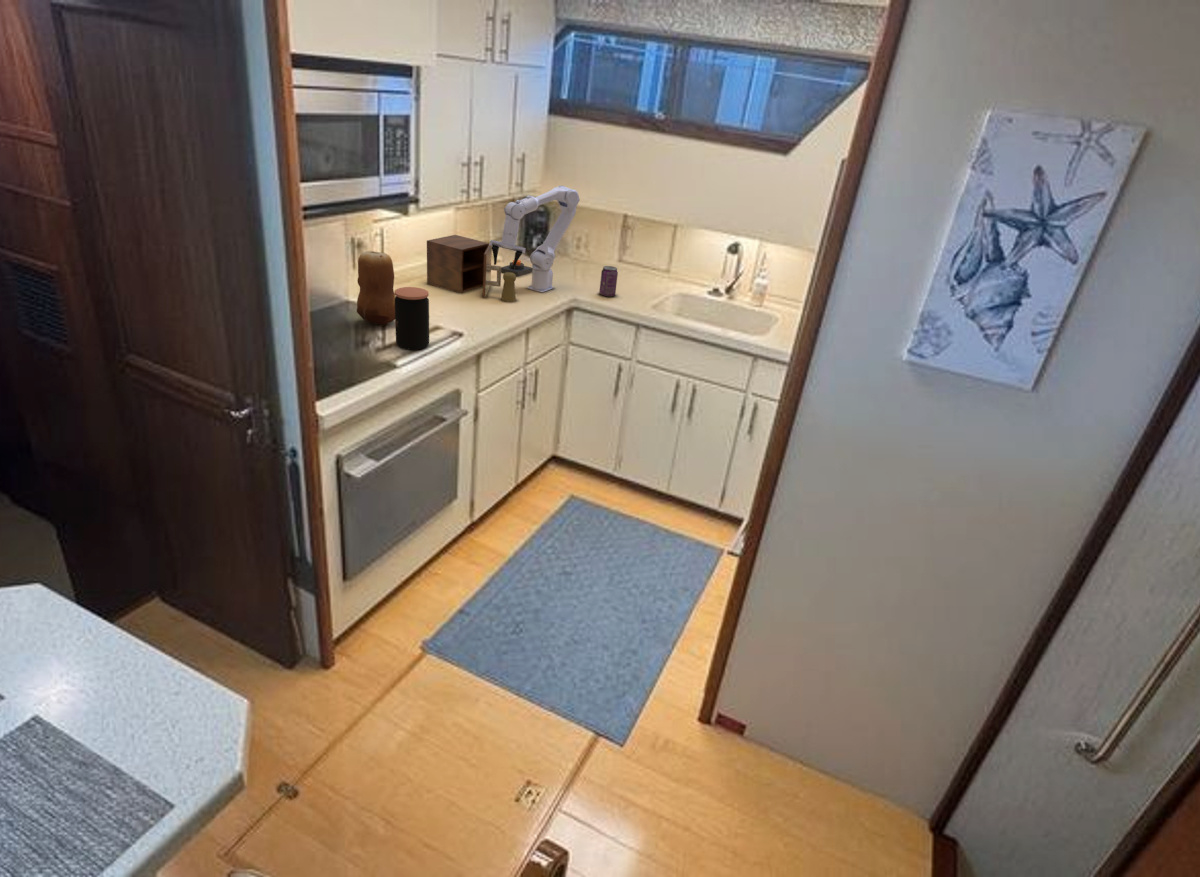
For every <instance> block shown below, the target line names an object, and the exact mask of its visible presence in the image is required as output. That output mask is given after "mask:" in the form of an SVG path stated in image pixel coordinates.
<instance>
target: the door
mask: <svg viewBox="0 0 1200 877" xmlns="http://www.w3.org/2000/svg"><path fill="white" fill-rule="evenodd" d="M492 255H493V251H492V246H491V245H490V243H489V246H488V248H487V250H486V251H485V253H484V272H483V287H482V298H483V299H485V298H486V297H487V295H488V293H489V290H490V288H491V287H498V288H499V287H501V286H502V284H501V282H502V273H501V267H502V266H501V265H494V264H492ZM492 271H496V281H495V280H491V279H492Z"/></svg>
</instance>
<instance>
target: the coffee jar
mask: <svg viewBox="0 0 1200 877" xmlns="http://www.w3.org/2000/svg"><path fill="white" fill-rule="evenodd" d="M394 294H395V296H396V297H395V320H394V323H395V324H394V326H395V328H394V329H395V342H396V344H397V346H398V347H399V348H401V349H403V350H408V351H419V350H423V349H426V348H427V347H428V345H429V344H430V300H429V298H428V297H429V296H430V295H429V294H430V292H429V290H427V289H425V288H421V287H416V286H404V287H398V288H397V289H394Z"/></svg>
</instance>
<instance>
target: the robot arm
mask: <svg viewBox="0 0 1200 877" xmlns="http://www.w3.org/2000/svg"><path fill="white" fill-rule="evenodd" d="M553 201H557V203H558V205H559V207H560V211H561V212H560V214H559V215H558V217H557V219H556V220H555V222H554V224H553V225H552V228H551V229H550V231H549V232H548V235H547V236H546V238H545V240H543V241H544V242H543V243H542V244H540V245H538V246H537V247H536V249H535V250H534V251H533V252H532V253H531V254H530V256H529V261H530V263H531V265H532V267H531V268H532V273H531V285H530V286H527V288H526V289H528V290H531V291H535V292H539V293H545V292H548V291H551V290H553V289H555V287H554V286H553V281H554V280H553V279H554V272H553V270H552V269H551V268H552V267H553V265H554V260H555V258H556V254H555V251H556V248H557V247H558V245H559V243H560V242H561V240H562V238H563V236H564V235H565V233H566V231H567V229H568V228H569V226H570V224H571V223H572V221H573V219H574V218H575V216H576V212H577V206H578V204H579V202H580V195H579V192H578V191H577V190H576V189H574V188H570V187H568V186H565V185H559V186H555V187H553V188H552V189H551V190H549V191H545V192H544V193H542V194H540V195H537V196H533V195H526V197H524V198H522V199H517V200H516V201H515V202H514V201H510V202H508V203H507V204H506V206H505V207H504V208H503V212H504V214H505V217H504V223H503V224H504V226H503V230H502V238H501V241H498V240H493V239H490V240H489V244H490V245H491V246H492V255H493V265H494V266H497V263H498V254H499V250H500V248H502V249H505V250H509V251H512V252H513V251H514V258H513V260H514V263H513V267H512V269H514V268H515V265H516V263H517V261H518V260H519V259H520V257H521V256H522V254H526V251H527V248H526V247H523V246H519V245H516V244H517V239H518V238H517V237H518V232H519V227H520V221H521V219H523V217H524V216H525V215H527V214H530V213H532V212H534V211H537V210H538V209H539V206H541V205H544V204H547V203H551V202H553Z"/></svg>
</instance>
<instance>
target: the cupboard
mask: <svg viewBox="0 0 1200 877" xmlns="http://www.w3.org/2000/svg"><path fill="white" fill-rule="evenodd" d="M489 244H490V242H486V241H483V240H478V239H474V238H470V237H466V236H462V235H459V234H452V235H447V236H442V237H438V238H432V239H428V240H426V284H427V285H429V286H434V287H438V288H440V289H444V290H447V291H451V292H454V293H458V294H465V293H468V292H470V291H473V290H477V289H479V288H480V289H481V288H483V272H484V253H485V251H486V250H487V248H488V246H489Z"/></svg>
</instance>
